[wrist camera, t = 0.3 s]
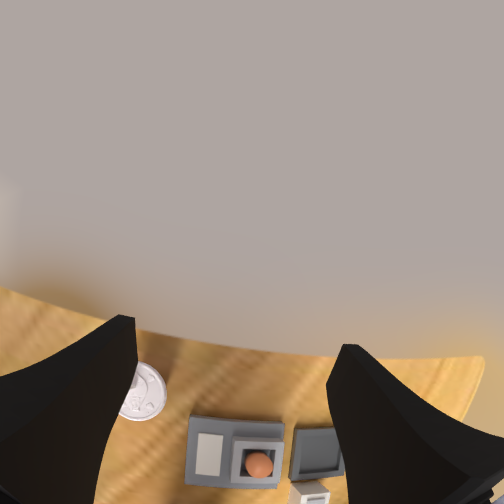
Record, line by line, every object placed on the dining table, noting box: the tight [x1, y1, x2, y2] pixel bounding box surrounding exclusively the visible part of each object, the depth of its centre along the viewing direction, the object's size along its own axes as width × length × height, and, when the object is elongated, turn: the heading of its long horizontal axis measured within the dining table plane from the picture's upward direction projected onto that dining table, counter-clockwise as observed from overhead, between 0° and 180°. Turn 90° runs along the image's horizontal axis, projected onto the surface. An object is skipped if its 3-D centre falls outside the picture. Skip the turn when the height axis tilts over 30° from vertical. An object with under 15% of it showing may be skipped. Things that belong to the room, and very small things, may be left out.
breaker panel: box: [184, 414, 285, 489], centre depth 29 cm, size 10×12×4 cm
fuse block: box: [287, 481, 331, 504], centre depth 27 cm, size 4×4×6 cm
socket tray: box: [288, 427, 345, 481], centre depth 32 cm, size 8×8×1 cm
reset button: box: [244, 451, 273, 478], centre depth 27 cm, size 3×3×3 cm
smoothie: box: [119, 361, 167, 421], centre depth 27 cm, size 6×6×14 cm
